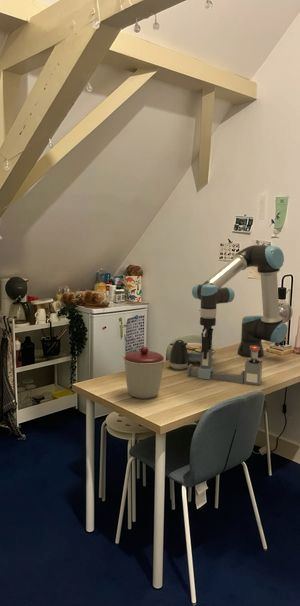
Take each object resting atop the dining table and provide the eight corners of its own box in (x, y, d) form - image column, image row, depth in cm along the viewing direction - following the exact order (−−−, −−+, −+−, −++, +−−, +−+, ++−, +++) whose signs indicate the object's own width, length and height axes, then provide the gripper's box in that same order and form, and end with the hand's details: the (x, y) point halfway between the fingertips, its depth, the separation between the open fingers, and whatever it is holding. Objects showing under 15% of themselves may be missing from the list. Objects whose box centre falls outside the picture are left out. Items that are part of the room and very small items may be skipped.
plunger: (249, 359, 215) (250, 344, 214) (259, 361, 213) (260, 345, 212) (248, 362, 211) (249, 347, 210) (258, 363, 209) (259, 348, 208)
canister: (114, 392, 195) (114, 345, 192) (147, 385, 206) (148, 340, 203) (138, 405, 181) (139, 354, 178) (172, 396, 192) (174, 348, 189)
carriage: (201, 374, 224) (202, 347, 222) (213, 375, 221) (214, 348, 219) (197, 378, 217) (198, 350, 215) (209, 379, 215) (210, 352, 213)
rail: (190, 373, 225) (190, 363, 224) (244, 380, 215) (244, 370, 214) (187, 376, 220) (187, 366, 219) (242, 384, 210) (243, 373, 210)
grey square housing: (246, 379, 218) (247, 359, 217) (261, 380, 215) (262, 360, 214) (244, 383, 211) (245, 362, 210) (259, 385, 209) (260, 364, 207)
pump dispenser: (178, 372, 226) (179, 343, 224) (164, 367, 234) (165, 339, 232) (192, 368, 233) (193, 340, 231) (178, 364, 241) (179, 336, 238)
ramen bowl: (226, 362, 246) (227, 347, 245) (197, 369, 232) (198, 354, 231) (193, 352, 265) (194, 339, 264) (165, 358, 251) (165, 344, 249)
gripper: (204, 313, 223) (202, 359, 227) (195, 318, 209) (194, 367, 213) (219, 315, 221) (217, 361, 224) (211, 320, 206) (209, 369, 210)
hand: (206, 364), depth 218 cm, fingers closed on carriage, 2 cm apart
